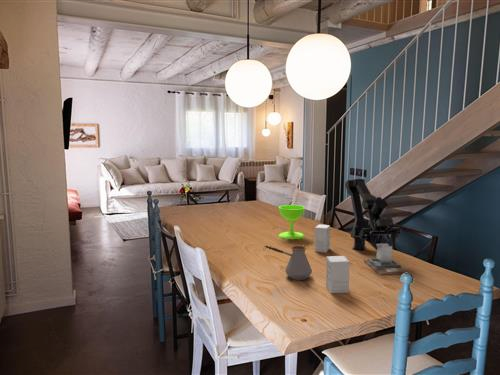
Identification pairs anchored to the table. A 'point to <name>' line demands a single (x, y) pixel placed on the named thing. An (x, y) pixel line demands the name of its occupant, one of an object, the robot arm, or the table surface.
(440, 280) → the table surface
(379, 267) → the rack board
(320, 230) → the small box
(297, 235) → the wineglass
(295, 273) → the coffee pot
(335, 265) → the supplement box
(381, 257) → the light grey block
